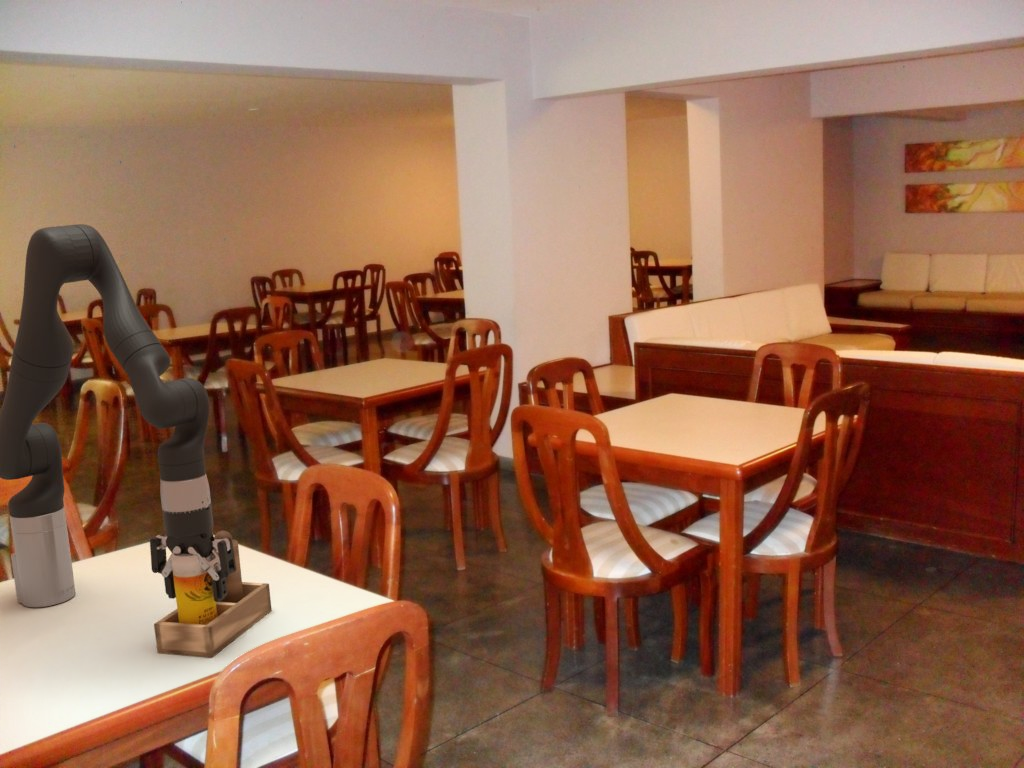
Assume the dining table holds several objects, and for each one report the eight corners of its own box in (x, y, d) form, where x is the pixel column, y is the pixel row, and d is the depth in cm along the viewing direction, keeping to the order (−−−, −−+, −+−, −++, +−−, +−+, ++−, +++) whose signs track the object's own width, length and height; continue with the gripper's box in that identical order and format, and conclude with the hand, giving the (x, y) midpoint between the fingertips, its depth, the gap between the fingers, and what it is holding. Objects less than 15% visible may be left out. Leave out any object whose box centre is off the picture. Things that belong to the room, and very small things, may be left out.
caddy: (157, 653, 161) (146, 558, 158) (221, 607, 179) (212, 521, 176) (211, 657, 158) (201, 561, 155) (271, 610, 176) (263, 523, 173)
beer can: (208, 646, 160) (198, 557, 158) (174, 644, 162) (163, 557, 159) (226, 630, 166) (216, 544, 163) (193, 628, 167) (183, 543, 165)
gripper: (133, 508, 158) (145, 604, 161) (212, 511, 154) (222, 610, 157) (162, 495, 165) (173, 587, 168) (238, 497, 161) (247, 592, 164)
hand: (197, 598), depth 163 cm, fingers open, 8 cm apart
